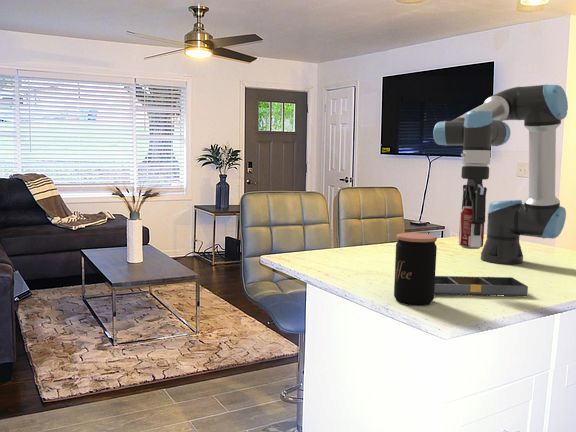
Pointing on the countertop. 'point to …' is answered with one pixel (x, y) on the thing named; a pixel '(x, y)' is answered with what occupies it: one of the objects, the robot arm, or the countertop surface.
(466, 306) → the countertop surface
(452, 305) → the countertop surface
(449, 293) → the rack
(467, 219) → the soda can
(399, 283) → the coffee jar
